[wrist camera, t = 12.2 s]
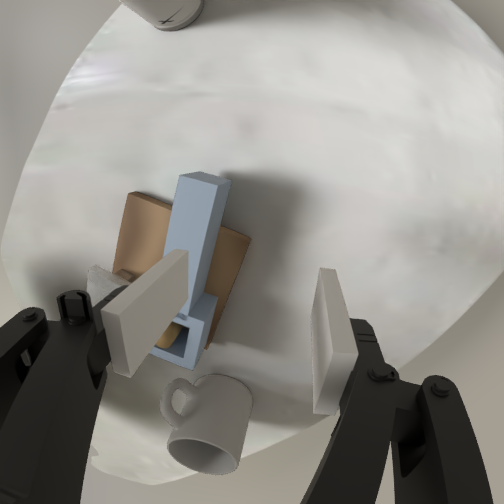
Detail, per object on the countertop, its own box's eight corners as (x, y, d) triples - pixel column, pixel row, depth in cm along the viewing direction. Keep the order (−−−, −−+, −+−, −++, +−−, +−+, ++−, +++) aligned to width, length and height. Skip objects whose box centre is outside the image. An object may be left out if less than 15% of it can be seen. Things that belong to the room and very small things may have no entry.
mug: (266, 403, 36) (254, 468, 26) (221, 421, 39) (203, 479, 29) (204, 345, 35) (173, 409, 24) (163, 370, 37) (129, 426, 27)
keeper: (119, 281, 32) (82, 311, 25) (126, 243, 30) (85, 267, 23) (153, 298, 32) (120, 333, 25) (162, 260, 30) (127, 289, 23)
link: (206, 343, 33) (192, 370, 28) (155, 324, 33) (136, 348, 28) (248, 185, 26) (238, 191, 22) (184, 167, 27) (161, 170, 22)
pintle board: (114, 296, 34) (80, 325, 27) (135, 191, 30) (93, 203, 23) (210, 342, 34) (191, 383, 27) (251, 238, 29) (236, 264, 22)
